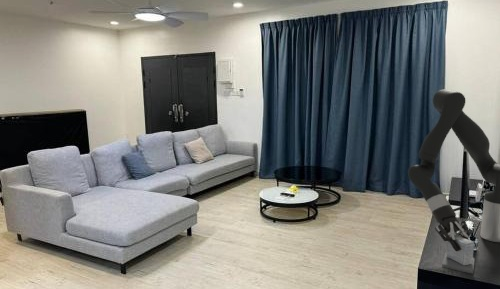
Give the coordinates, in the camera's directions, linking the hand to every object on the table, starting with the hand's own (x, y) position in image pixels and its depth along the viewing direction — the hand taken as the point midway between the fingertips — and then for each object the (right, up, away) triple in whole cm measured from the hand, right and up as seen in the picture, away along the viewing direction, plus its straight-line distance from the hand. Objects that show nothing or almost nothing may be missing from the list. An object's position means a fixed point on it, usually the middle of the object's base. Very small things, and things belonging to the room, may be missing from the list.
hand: (464, 249), depth 135 cm
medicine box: (0, -5, +3) cm, 6 cm away
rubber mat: (-1, -6, +3) cm, 7 cm away
